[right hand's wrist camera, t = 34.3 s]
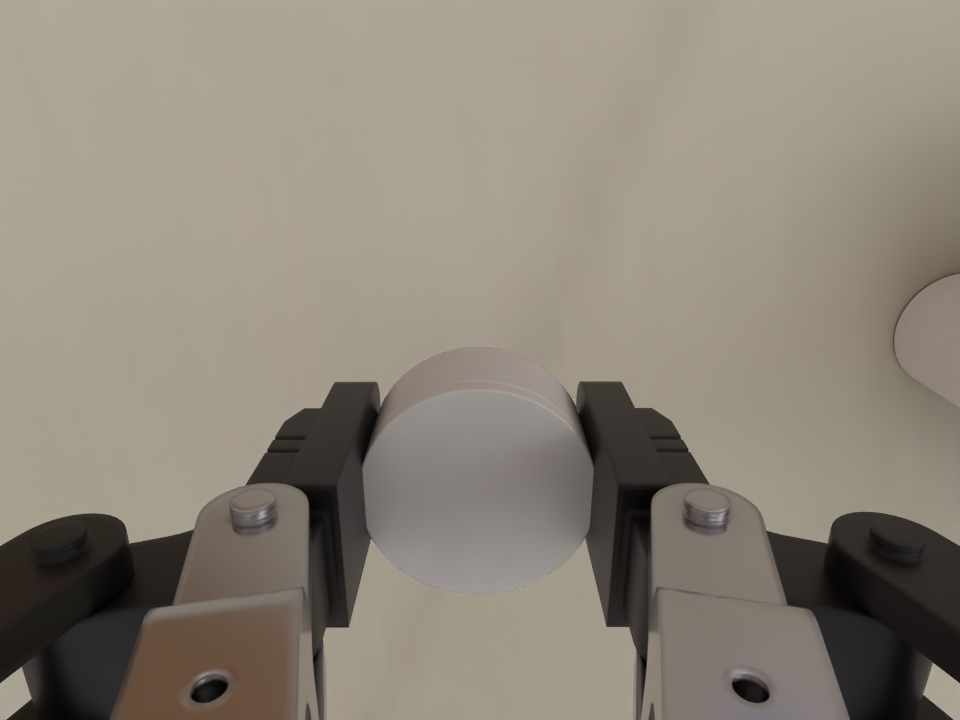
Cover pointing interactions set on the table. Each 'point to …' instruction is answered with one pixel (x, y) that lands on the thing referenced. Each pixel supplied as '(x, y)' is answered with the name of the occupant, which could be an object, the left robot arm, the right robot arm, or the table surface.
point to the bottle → (932, 338)
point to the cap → (478, 473)
